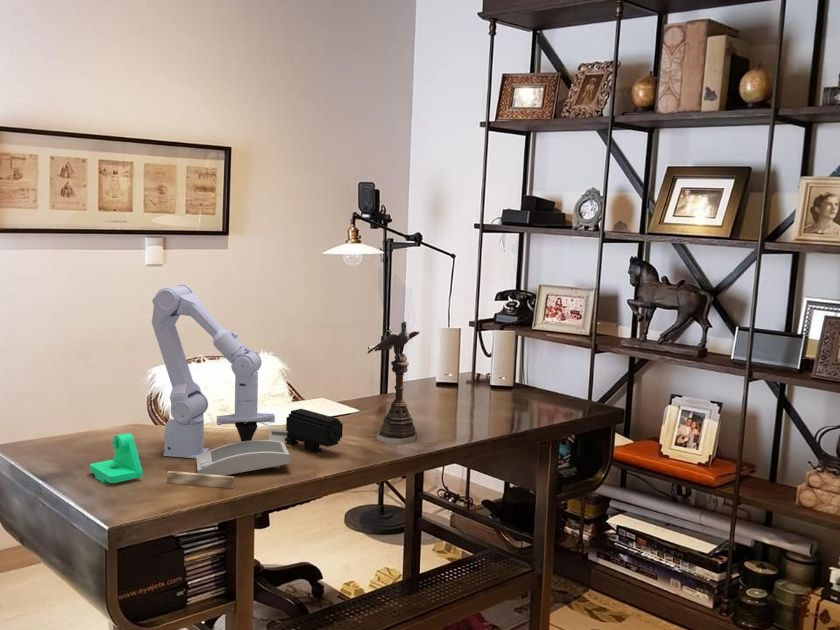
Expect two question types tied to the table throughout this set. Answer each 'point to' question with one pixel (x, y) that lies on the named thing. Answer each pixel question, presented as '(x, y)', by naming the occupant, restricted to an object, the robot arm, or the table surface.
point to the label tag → (277, 434)
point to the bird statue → (397, 392)
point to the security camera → (312, 430)
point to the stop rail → (200, 479)
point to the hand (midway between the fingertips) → (245, 450)
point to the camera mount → (119, 462)
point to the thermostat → (243, 457)
